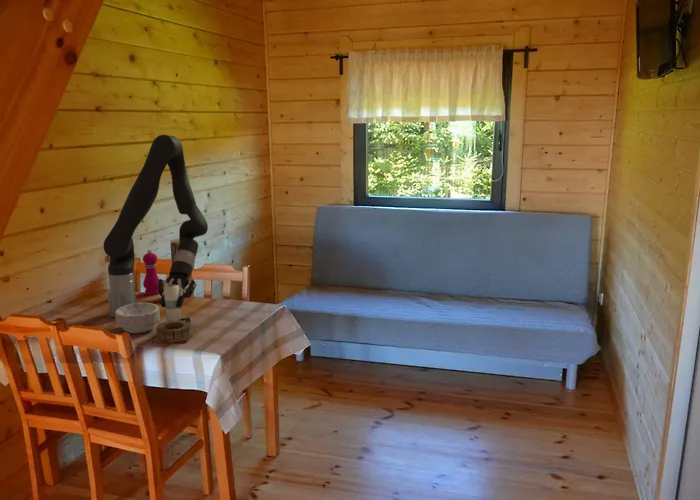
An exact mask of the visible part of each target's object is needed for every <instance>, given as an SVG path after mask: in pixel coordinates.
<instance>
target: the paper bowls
mask: <svg viewBox="0 0 700 500" xmlns="http://www.w3.org/2000/svg"><path fill="white" fill-rule="evenodd" d="M160 314H161V313H160V307H159V306H158V304H154V303H151V302H136V303H134V304H129V305H125V306H122V307H120V308H118V309H117V310H116V311H115V315H116V318H115V324H116V326H117V327H119V328H121V329H123V332H126V331H127V332H126V333H128V332H129V333H128V334H142V333H146V332H149V331H150V330H152V329H154V327H155V324H157V323H158V322H160V320H161V317H160V316H161V315H160Z"/></svg>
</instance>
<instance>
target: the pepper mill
mask: <svg viewBox="0 0 700 500" xmlns="http://www.w3.org/2000/svg"><path fill="white" fill-rule="evenodd" d="M142 261H143V263H144V268H145V277H144V278H143V283H142V286H143V287H144V288H145V290H144V294H145V296H156V295H159V294H158V282H159V279H160V278H159V276H158V274H157V262H158V256H157V255H156V253H153V250H151V249H147V253H145V254H144V255H143V257H142Z"/></svg>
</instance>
